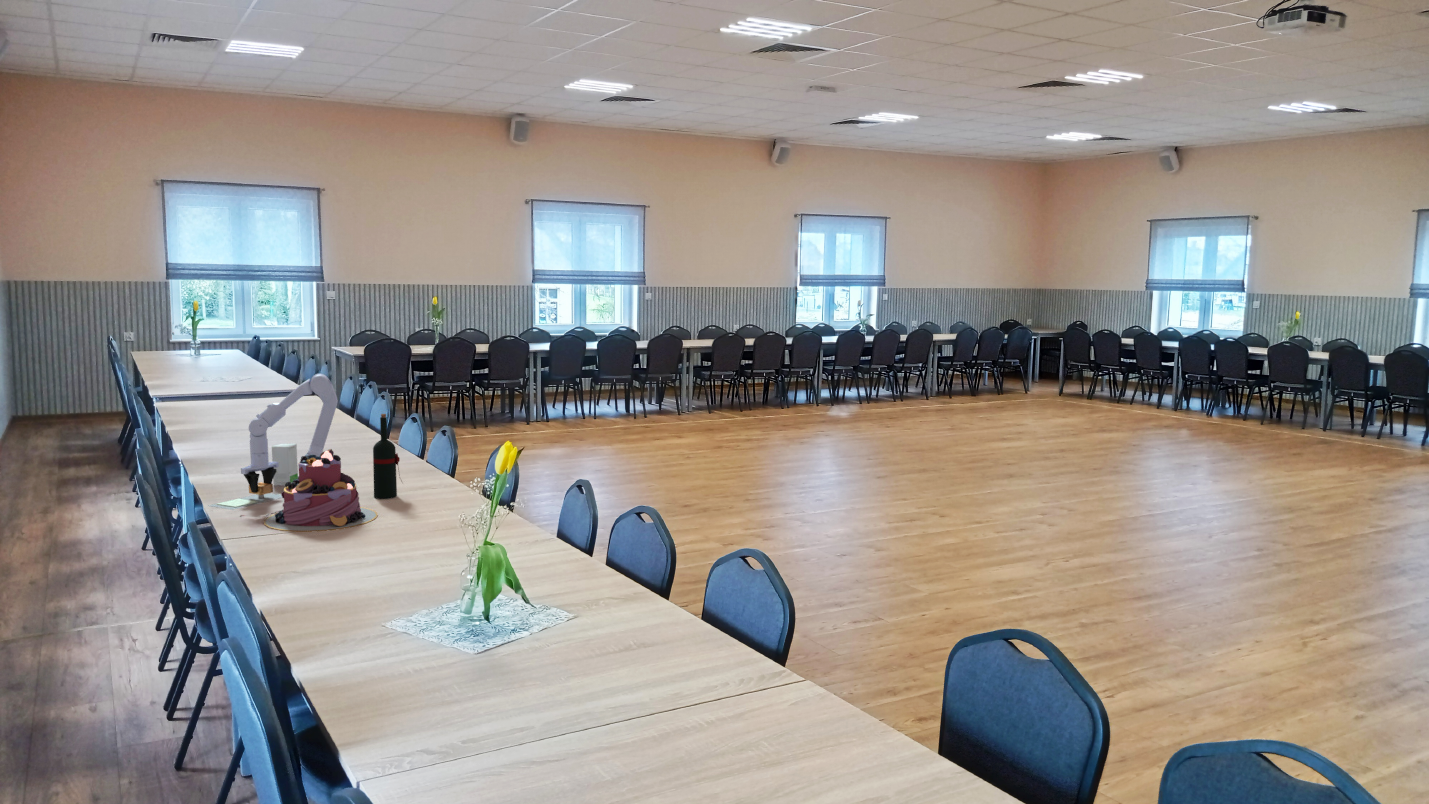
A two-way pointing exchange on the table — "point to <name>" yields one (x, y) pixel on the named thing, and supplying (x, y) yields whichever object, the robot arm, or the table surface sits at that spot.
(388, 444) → the wine bottle
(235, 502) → the peg board
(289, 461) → the skincare box
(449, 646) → the table surface
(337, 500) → the wedding cake
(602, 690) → the table surface
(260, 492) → the c link
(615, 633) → the table surface
